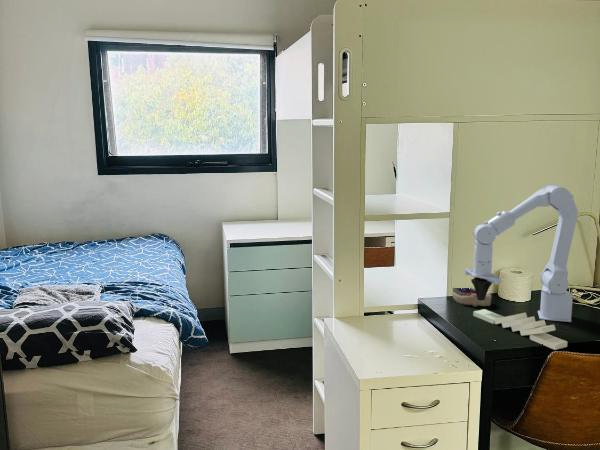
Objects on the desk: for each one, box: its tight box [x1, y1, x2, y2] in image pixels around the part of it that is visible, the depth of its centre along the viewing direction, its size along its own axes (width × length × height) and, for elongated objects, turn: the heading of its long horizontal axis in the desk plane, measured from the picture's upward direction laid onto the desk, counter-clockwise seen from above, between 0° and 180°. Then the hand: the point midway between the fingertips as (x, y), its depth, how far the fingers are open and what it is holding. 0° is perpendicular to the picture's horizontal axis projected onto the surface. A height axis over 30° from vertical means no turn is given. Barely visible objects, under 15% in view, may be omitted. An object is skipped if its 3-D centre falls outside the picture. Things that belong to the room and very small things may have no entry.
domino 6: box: [529, 332, 568, 351], centre depth 162 cm, size 2×5×9 cm
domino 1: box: [472, 308, 504, 325], centre depth 183 cm, size 2×5×9 cm
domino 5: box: [519, 324, 556, 336], centre depth 165 cm, size 2×5×9 cm
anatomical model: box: [451, 287, 492, 307], centre depth 201 cm, size 12×16×5 cm
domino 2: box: [494, 312, 528, 325], centre depth 175 cm, size 2×5×9 cm
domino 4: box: [510, 319, 547, 332], centre depth 169 cm, size 2×5×9 cm
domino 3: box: [501, 316, 536, 329], centre depth 172 cm, size 2×5×9 cm
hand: (481, 299), depth 186 cm, fingers closed
